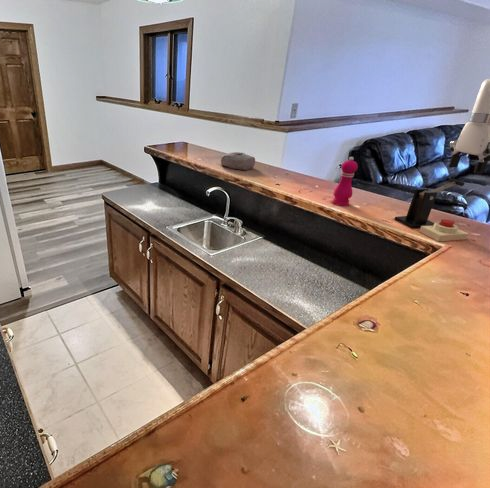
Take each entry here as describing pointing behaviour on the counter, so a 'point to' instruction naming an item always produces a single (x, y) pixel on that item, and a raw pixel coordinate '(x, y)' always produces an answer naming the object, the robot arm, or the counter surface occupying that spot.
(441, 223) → the button
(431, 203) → the lever bracket
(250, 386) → the counter surface
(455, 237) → the button block
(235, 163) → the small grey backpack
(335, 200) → the pepper mill
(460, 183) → the toaster lever
